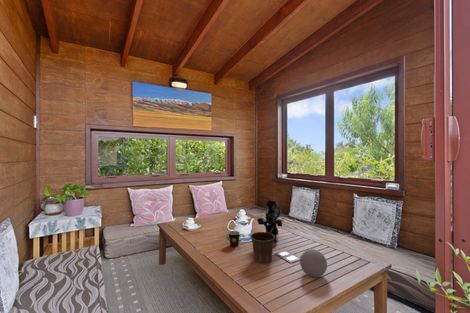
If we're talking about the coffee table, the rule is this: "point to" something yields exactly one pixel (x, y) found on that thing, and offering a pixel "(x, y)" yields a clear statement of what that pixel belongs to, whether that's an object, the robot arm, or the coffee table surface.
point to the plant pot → (262, 246)
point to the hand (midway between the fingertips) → (268, 232)
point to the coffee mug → (234, 238)
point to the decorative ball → (313, 263)
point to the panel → (288, 256)
